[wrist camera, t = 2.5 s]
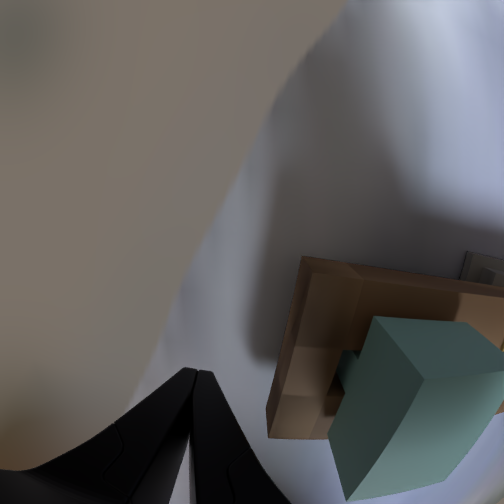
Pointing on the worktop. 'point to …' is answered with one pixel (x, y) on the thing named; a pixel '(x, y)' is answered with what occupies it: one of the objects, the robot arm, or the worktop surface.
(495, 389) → the block
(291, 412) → the brown long slotted block
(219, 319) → the worktop surface
